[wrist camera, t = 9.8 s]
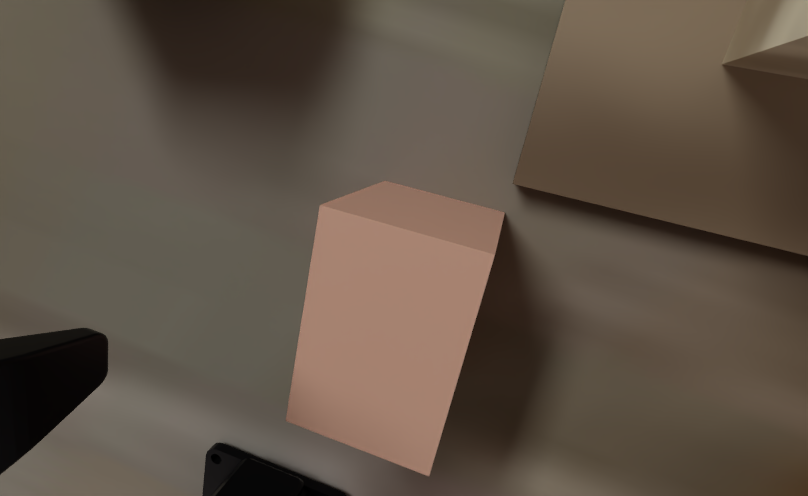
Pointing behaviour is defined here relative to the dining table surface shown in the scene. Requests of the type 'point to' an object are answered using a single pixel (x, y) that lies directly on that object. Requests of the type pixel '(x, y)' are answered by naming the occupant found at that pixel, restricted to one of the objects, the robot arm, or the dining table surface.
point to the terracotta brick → (390, 318)
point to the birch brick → (771, 38)
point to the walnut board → (670, 122)
